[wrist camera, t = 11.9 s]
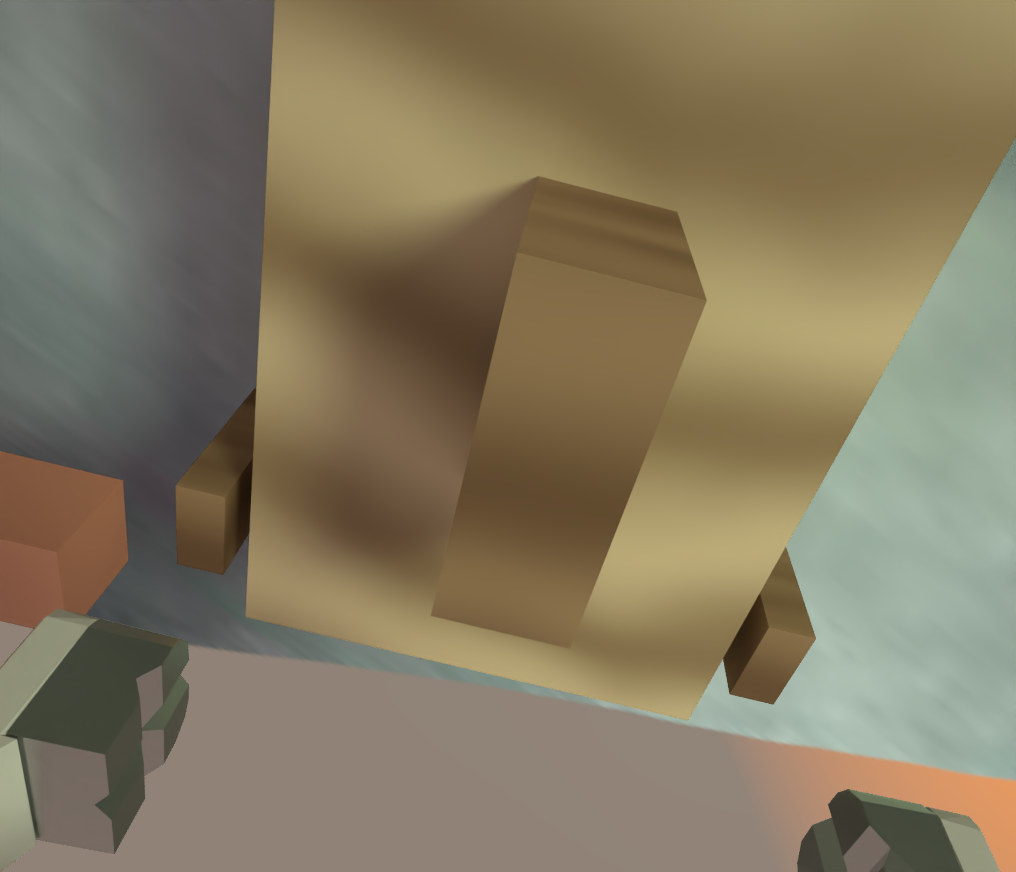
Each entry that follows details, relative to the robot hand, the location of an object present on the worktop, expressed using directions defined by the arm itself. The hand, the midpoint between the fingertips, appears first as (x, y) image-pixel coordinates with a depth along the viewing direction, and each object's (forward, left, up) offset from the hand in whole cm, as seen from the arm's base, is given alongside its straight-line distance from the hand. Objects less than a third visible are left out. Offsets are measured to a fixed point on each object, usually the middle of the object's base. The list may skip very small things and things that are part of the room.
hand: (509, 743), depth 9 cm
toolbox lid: (0, 0, -13) cm, 13 cm away
